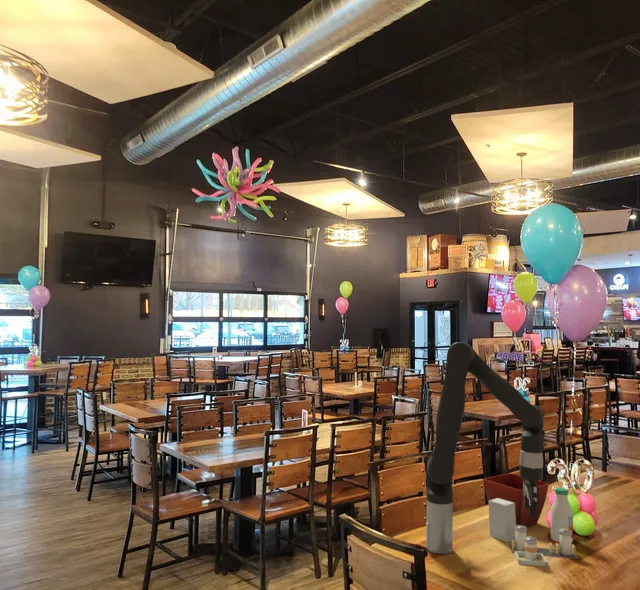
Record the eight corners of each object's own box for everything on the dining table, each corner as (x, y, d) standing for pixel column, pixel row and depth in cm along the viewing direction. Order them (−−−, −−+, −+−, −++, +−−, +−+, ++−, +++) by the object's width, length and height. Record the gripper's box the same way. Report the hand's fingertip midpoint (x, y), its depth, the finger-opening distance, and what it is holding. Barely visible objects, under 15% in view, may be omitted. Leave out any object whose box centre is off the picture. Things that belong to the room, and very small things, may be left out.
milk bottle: (563, 548, 204) (563, 492, 205) (546, 541, 210) (546, 487, 212) (577, 545, 207) (577, 490, 208) (560, 537, 214) (560, 485, 215)
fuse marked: (525, 564, 187) (526, 540, 187) (522, 559, 191) (522, 535, 191) (538, 565, 186) (538, 541, 187) (535, 560, 190) (535, 536, 191)
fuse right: (561, 555, 193) (561, 532, 194) (558, 551, 197) (557, 528, 198) (573, 556, 193) (573, 532, 193) (569, 551, 197) (569, 528, 197)
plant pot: (550, 524, 228) (549, 483, 229) (521, 534, 217) (521, 490, 218) (510, 511, 244) (510, 472, 245) (481, 519, 233) (482, 478, 234)
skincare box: (516, 543, 207) (516, 502, 208) (506, 546, 204) (506, 505, 205) (498, 536, 214) (498, 496, 215) (488, 539, 211) (488, 499, 212)
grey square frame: (518, 568, 186) (518, 559, 186) (514, 559, 193) (514, 550, 193) (547, 570, 184) (547, 562, 184) (542, 561, 192) (542, 553, 192)
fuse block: (512, 557, 194) (512, 544, 195) (508, 549, 201) (508, 537, 201) (579, 563, 191) (579, 549, 191) (573, 554, 198) (573, 542, 198)
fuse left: (516, 551, 196) (516, 528, 196) (514, 547, 200) (514, 524, 200) (528, 552, 195) (528, 529, 195) (525, 548, 199) (525, 525, 199)
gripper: (515, 458, 198) (515, 505, 197) (523, 468, 184) (522, 518, 183) (538, 460, 197) (537, 507, 196) (547, 470, 183) (546, 520, 182)
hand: (530, 512), depth 189 cm, fingers open, 8 cm apart
